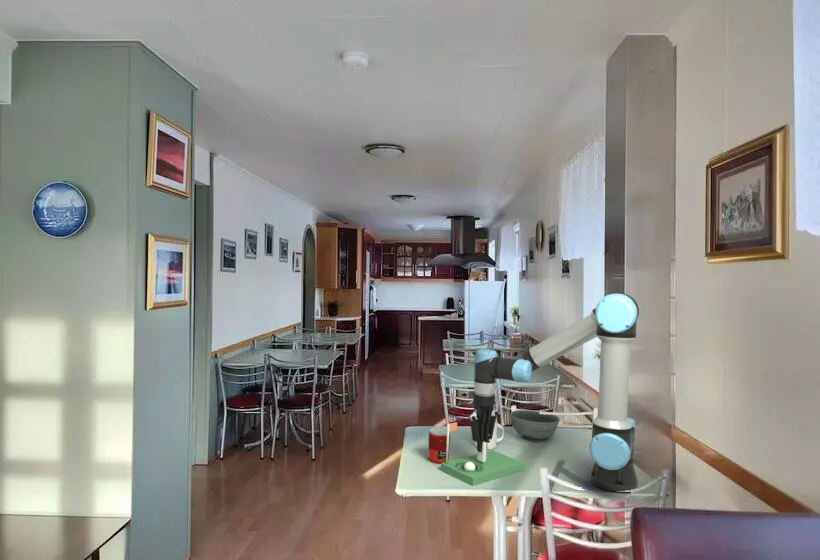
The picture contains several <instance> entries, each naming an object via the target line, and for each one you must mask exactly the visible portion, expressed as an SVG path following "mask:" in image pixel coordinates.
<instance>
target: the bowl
mask: <svg viewBox="0 0 820 560" xmlns="http://www.w3.org/2000/svg"><path fill="white" fill-rule="evenodd" d="M540 412H542V413H543V412H544V411H538V410H537V411H535V410H526V409H525V410H524V409H522V410H519V409H518V410H513V411H511V412H510V413H509V416H510V418H511V424H512V426H513V428H514V431H516V432H517V434H519V435H521V437H522V438H523V439H524V440H527V441H531V442H543V441H545V439H546V438H549V437H551V436H552V435H554V433H555V432H556V430H557V428H558V426H559V422H560V420H561V419H560V418H559V417H558V416H556V415H554V414H551V413H550V414H551V415H540V414H539V413H540Z"/></svg>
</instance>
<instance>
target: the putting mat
mask: <svg viewBox="0 0 820 560" xmlns="http://www.w3.org/2000/svg"><path fill="white" fill-rule="evenodd" d="M446 429H447V448H446V462H444V463H441V464H440V471H441V472H442V473H445V474H448V475H449V476H450V477H451V476H452V477H453V478H455V479H458V480H460V481H461V482H464V483H466V484H468V485H470V486H472V487H475V486H478V485H480V484H481V485H482V484H483V483H487V482H490V481H493V480H498V479H501V478H503V476H504V477H507V476H510V475H514V474H516V473H520V472H523V470H524V471H526V463H525V462H523V461H521V460H519V459H516V458H513V457H510V456H508V455H505V454H503V453H501V452H499V451H495V450H494V449H490V450H487V451H486V461H485V462H482V461H479V460H477V456H478V453H477V454H476V453H475V454H472V455H468V456H464V457H460V458H456V459H452V460H449V461H448V448H449V431H450V432H452V431H453V432H454V431H456V430H458V422H452V423H451V422H450V423H447V426H446ZM467 462H472V463H473V464H474V465H475V470H464V465H465V463H467ZM513 473H514V474H513ZM500 477H501V478H500Z"/></svg>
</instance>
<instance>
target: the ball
mask: <svg viewBox="0 0 820 560" xmlns="http://www.w3.org/2000/svg"><path fill="white" fill-rule="evenodd" d="M464 470H475V465H474V464H473V463H472V462H467V463H465V465H464Z"/></svg>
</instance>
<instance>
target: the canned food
mask: <svg viewBox="0 0 820 560" xmlns="http://www.w3.org/2000/svg"><path fill="white" fill-rule="evenodd" d="M450 438H451V431H449V448H448V461H450V445H451V444H450V443H451V439H450ZM446 448H447V428H444V427H431V428H430V429H429V431H428V451H427V452H428V453H427V455H428V456H427V458H428V461H429V462H430V463H432V464H437V465H441V463H444V462H446Z"/></svg>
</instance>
